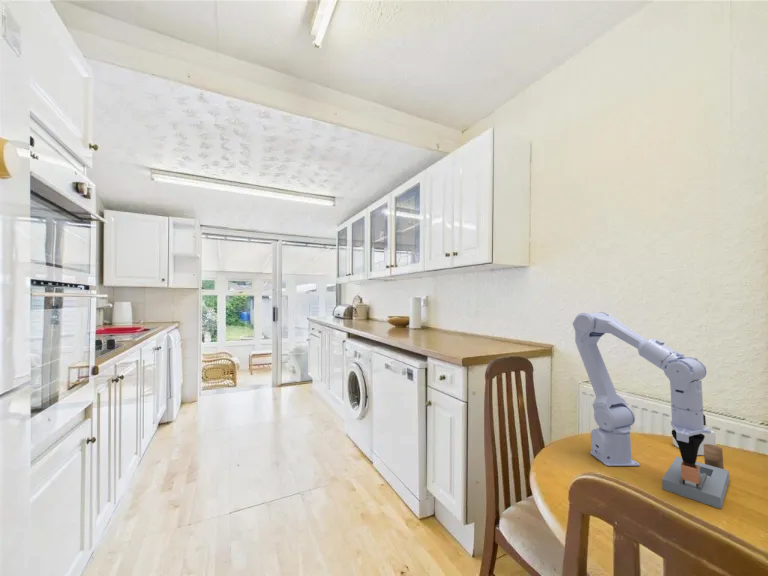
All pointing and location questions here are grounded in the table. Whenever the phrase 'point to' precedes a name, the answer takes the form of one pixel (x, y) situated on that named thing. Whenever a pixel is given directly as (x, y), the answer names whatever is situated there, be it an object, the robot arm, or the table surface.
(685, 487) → the mount board
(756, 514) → the table surface
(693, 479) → the bar
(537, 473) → the table surface
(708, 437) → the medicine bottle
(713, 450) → the brown wooden block
